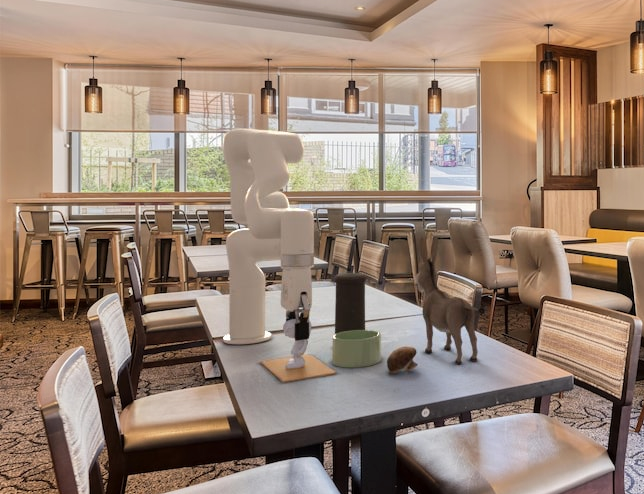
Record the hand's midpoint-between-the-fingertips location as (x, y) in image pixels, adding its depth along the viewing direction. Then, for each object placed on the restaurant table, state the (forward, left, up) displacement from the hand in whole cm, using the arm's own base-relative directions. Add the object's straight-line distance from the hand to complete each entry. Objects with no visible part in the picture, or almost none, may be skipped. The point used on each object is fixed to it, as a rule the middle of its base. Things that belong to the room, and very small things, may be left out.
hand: (297, 336), depth 148 cm
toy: (+10, +35, -8) cm, 38 cm away
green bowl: (+2, +14, -8) cm, 16 cm away
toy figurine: (0, 0, -7) cm, 7 cm away
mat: (0, 0, -8) cm, 8 cm away
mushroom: (+17, +19, -8) cm, 27 cm away
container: (-13, +18, -8) cm, 24 cm away
